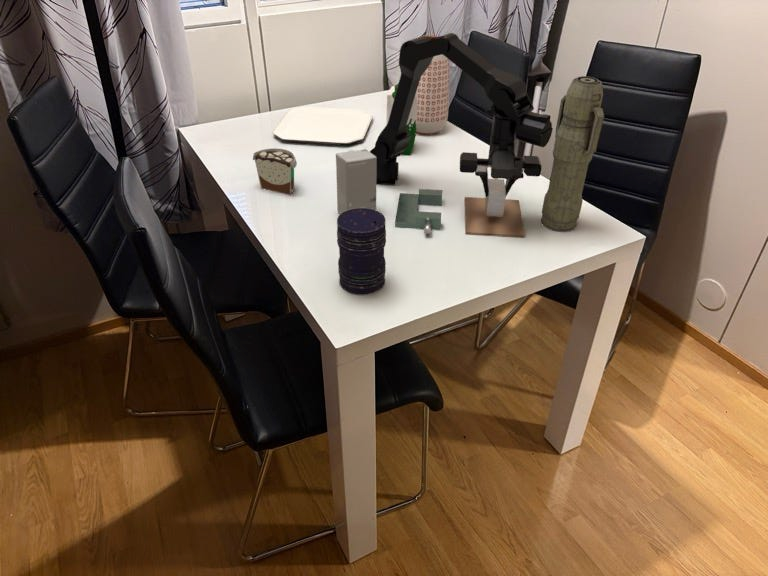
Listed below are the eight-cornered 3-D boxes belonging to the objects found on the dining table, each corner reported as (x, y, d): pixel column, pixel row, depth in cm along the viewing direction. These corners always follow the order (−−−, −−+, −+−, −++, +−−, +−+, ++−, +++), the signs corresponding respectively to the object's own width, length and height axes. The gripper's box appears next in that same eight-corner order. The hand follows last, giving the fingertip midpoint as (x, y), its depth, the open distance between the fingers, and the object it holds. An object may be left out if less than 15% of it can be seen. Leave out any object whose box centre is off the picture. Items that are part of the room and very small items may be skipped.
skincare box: (347, 223, 149) (345, 163, 140) (335, 211, 154) (333, 152, 145) (378, 216, 152) (378, 157, 143) (365, 204, 157) (365, 146, 148)
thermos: (564, 238, 144) (596, 90, 124) (528, 218, 152) (552, 76, 132) (589, 228, 149) (624, 83, 128) (553, 208, 156) (580, 69, 136)
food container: (307, 187, 165) (305, 152, 159) (295, 197, 160) (292, 161, 154) (269, 178, 169) (265, 144, 163) (256, 187, 164) (251, 152, 159)
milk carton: (384, 154, 183) (384, 87, 171) (389, 142, 190) (390, 77, 178) (413, 156, 182) (416, 89, 170) (417, 145, 189) (420, 79, 177)
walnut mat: (465, 234, 146) (465, 232, 145) (464, 199, 160) (464, 197, 160) (524, 237, 145) (525, 235, 144) (518, 202, 159) (518, 199, 159)
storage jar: (331, 289, 127) (327, 226, 118) (349, 264, 135) (348, 204, 126) (375, 299, 124) (375, 236, 116) (392, 274, 132) (393, 213, 123)
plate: (292, 111, 212) (292, 105, 211) (375, 116, 209) (375, 110, 208) (269, 144, 189) (268, 137, 188) (361, 150, 186) (361, 143, 185)
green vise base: (393, 235, 145) (393, 224, 143) (399, 198, 160) (399, 187, 158) (439, 238, 144) (440, 227, 142) (441, 200, 159) (442, 190, 158)
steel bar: (486, 215, 148) (489, 193, 144) (485, 200, 154) (487, 178, 151) (502, 216, 148) (506, 194, 144) (501, 201, 154) (504, 179, 150)
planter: (406, 121, 204) (408, 33, 188) (445, 122, 204) (452, 34, 188) (405, 137, 194) (408, 44, 177) (447, 138, 193) (454, 45, 177)
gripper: (463, 147, 134) (457, 210, 143) (549, 152, 133) (537, 215, 142) (462, 128, 143) (457, 188, 152) (543, 132, 142) (532, 192, 151)
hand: (495, 196), depth 149 cm, fingers closed on steel bar, 4 cm apart
